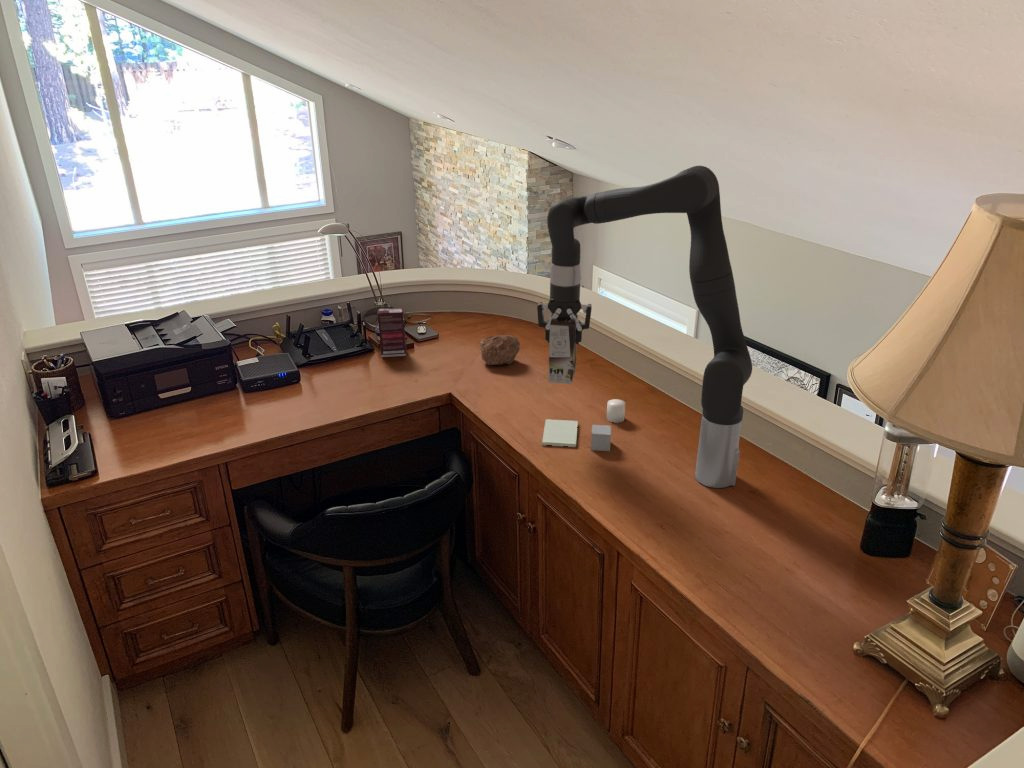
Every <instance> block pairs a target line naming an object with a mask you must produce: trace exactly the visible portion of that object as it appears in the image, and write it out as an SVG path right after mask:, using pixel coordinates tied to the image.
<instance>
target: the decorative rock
mask: <svg viewBox="0 0 1024 768" xmlns="http://www.w3.org/2000/svg"><path fill="white" fill-rule="evenodd" d="M478 346H479V349H480V350H481V354H480V355H481V359H482V360H483V361H484V362H485V363H486V364H487V365H489V366H502V365H505V364H506V365H511V364H512V363H513V362H514V360H515V358H516V357H517V355H518V353H520V349H521V348H520V341H519V340H518V338H517V337H516V336H514V335H509V334H507V335H505V334H504V335H490V336H487V337H485V338H482V339H481V340H480V341H479V345H478Z"/></svg>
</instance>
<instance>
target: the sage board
mask: <svg viewBox="0 0 1024 768" xmlns="http://www.w3.org/2000/svg"><path fill="white" fill-rule="evenodd" d="M544 422H545V423H544V429H543V435H542V441H541V445H542V446H546V445H552V447H563V446H568V447H567V448H576V447H577V438H578V437H577V436H578V428H577V427H579V425H578V424H579V421H578V420H566V419H565V420H564V419H563V420H562V419H548V418H546V419H545V421H544Z"/></svg>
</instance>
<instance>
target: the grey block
mask: <svg viewBox="0 0 1024 768" xmlns="http://www.w3.org/2000/svg"><path fill="white" fill-rule="evenodd" d="M590 436H591V439H590V451H597V452H598V451H600V452H601V451H602V452H611V440H612V439H611V438H612V426H611V425H607V424H606V425H603V424H591V435H590Z"/></svg>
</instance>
